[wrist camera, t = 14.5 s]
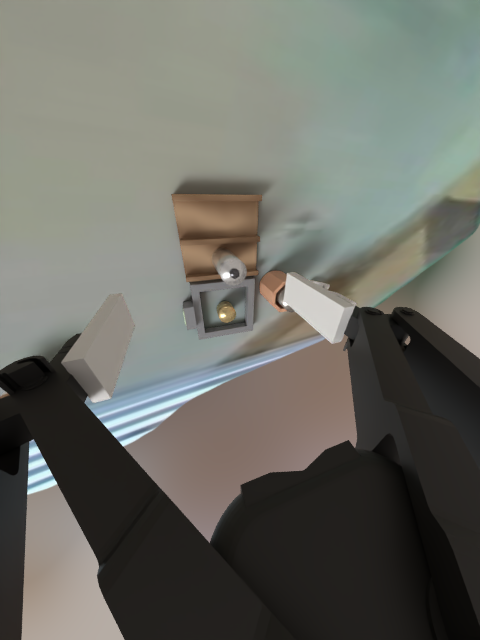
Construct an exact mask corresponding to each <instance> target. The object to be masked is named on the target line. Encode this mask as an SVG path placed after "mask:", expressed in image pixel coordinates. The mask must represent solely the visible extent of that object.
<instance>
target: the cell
mask: <svg viewBox="0 0 480 640" xmlns="http://www.w3.org/2000/svg"><path fill="white" fill-rule="evenodd" d="M212 263H213V265H214V267H215V268H216V270H217V272H218V273H219V275H220V277H221V278H222V280H223V281H224V282H225V283H226V284H227V285H230V286H235V285H239V284H240V283H242V282H243V281H244V279H245V277H246V274H247V269H246V266H245V264H244V263H243V262H242V261H241V260H240V259H238V258H237V257H236V256H235V255H234V254H232V253H231V252H230V251H229V250H228V249H226V248H219V249H217V250H215V251H214V253H213V254H212Z"/></svg>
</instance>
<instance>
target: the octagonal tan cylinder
mask: <svg viewBox="0 0 480 640" xmlns="http://www.w3.org/2000/svg"><path fill="white" fill-rule="evenodd" d="M286 278H287V275H286V274H285V273H283V272H281V271H270V272H268V273H266V274H265V275H264V276H263V277H262V279H261V281H260V284H259V289H260V293H261V294H262V295H263V296H264V297H265V298H266V299H267V300H268V302H269V303H270V304H271V305H272V306H273V307H275V308H276V309H277V310H278V311H279V312H284V311H287V310H286V309H285V308H284V307H282V306H281V305H280V304H279V303H278V302H277V301H276V300H275V298H276V293H277V292H278V291H279V290H280V289H281V288H282V287H283V286H284V285H286Z"/></svg>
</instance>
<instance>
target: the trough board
mask: <svg viewBox="0 0 480 640" xmlns="http://www.w3.org/2000/svg"><path fill="white" fill-rule="evenodd" d="M172 200H173V204H174V210H175V216H176V222H177V227H178V233H179V239H180V246H181V251H182V256H183V262H184V268H185V274H186V281H187V282H193V281H203V280H213V279H222V278H221V277H220V275H219V273H218V272H217V270H216V268H215V267H214V265H213V263H212V254H213V253H214V251H215V250H217V249H219V248H226V249H228V250H229V251H230V252H231V253H232V254H234V255H235V256H236V257H237V258H238V259H240V260H241V261H242V262H243V263H244V264H245V266H246V269H247V274H246V276H252V275H258V270H257V269H256V252H257V242H260V237H259V236H257V227H258V202H259V201H262V195H218V194H172Z"/></svg>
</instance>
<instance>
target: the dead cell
mask: <svg viewBox="0 0 480 640" xmlns="http://www.w3.org/2000/svg"><path fill="white" fill-rule="evenodd" d="M284 293H285V285H284V286H283V287H282V288H281V289H280V290H279V291H278V292H277V293H276V298H275V300H276V301H277V302H278V303H279V304H280V305H281V306H282V307H284V308H285V309H286V310H287V311H289V312H294V310H293V309H292V308H291V307H290V306H289V305H288V304H286V303H285V302H284V301H283V300H284Z"/></svg>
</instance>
